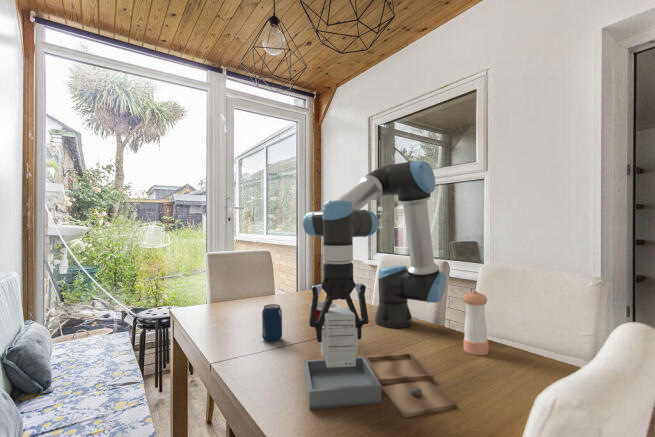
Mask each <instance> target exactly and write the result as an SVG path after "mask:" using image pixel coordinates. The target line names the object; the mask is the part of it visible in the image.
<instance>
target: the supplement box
mask: <svg viewBox="0 0 655 437" xmlns="http://www.w3.org/2000/svg"><path fill="white" fill-rule="evenodd" d="M324 329H325V356H324V359H325V360H326V367H351V366H356V357H357V356H356V355H357V354H355V314H354V313H353V312H351V311H350V309H349V307H348V306H344V307H343V306H342V307H341V306H340V307H336V308H329V310H328V313H325V321H324Z"/></svg>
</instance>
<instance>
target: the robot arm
mask: <svg viewBox="0 0 655 437" xmlns="http://www.w3.org/2000/svg"><path fill="white" fill-rule="evenodd" d="M435 189H436V177H435V173H434V170H433V168H432V166H431V165H430V164H429V163H428V162H427V161H425V160H412V161H405V162H399V163H393V164H392V163H390V164H386V165H383V166H380V167H378V168H376V169H374V170H373V171H371V172H370V173H367V174H366V175H365V176H362V177H361V179H360V181H359V183H358V184H357V185H355V186H353V187H352V188H351V189H349V190H348V191H347V192H344V194H342V195H341V196H340V197H337V198H336V199H335V200H327V201H325V202H324V203H323V205H322V206H323V208H322V209H320V210H314V211H310V212H307V213H306V214H305V215H304V217H303V219H302V226H303V229H304V232H305V233H306V235H308V236H310V237H311V236H313V237H322V238H323V241H322V242H323V243H322V245H323V247H322V249H323V251H322V252H323V253H322V254H323V261H324V263H323V266H322V268H323V269H322V270H323V272H322V274H323V275H322V276H323V278H322V282H321V284H317V285H315V284H313V285H311V287H310V288H311V294H312V298H311V303H312V304H311V303H310V304H311V307H310V314H309V319H308V324H309V327H311V328H314V329H315V328H316V330H317V336H316V340H317V343H320V354H321V357H323V358H324V357H325V329H324V326H323V324H324V321H325V313H328V310H329V308H330V305H331V303H333V302H334V301H337V300H344V301H345V302H346V305H347V307H349V309H350V311H351V312H353V313H354V314H355V354H356V355H358V353H359V349H358V347H359V346H358V343H359V341H358V340H361V339H362V328H363V326H364V325H369V322H370V321H369V316H368V315H369V314H368V309H367V303H366V301H367V300H366V296H365V294H366V288H367V286H366V285H365V284H364V283H356V282H355V280H354V263H353V262H352V261H353V260H354V247H353V246H354V240H353V239H354V238H366V237H369V236H370V237H371V236H372V235H374V234H375V233H376V231H377V230H378V227H379V219H378V217H377V215H376V214H375V213H374V212H373V211H372V210H371V211H370V210H367V209H363V208H364V207H365V206H366V205H368V204H369V203H370V202H371V201H375V200H378V199H379V198H380V197H386V196H397V198H398V199H397V200H398V202H399V203H401V204H402V206H403V213H404V219H405V220H404V221H405V222H404V223H405V228H406V236H407V243H408V252H409V258H410V260H409V261H410V265H409V266H407V265H391V266H384V267H381V268H380V269H379V270H378V278H377V280H378V305H377V309H376V312H375V315H374V322H375V324H377V326H378V325H379V326H381V327H385V328H390V329H391V328H393V329H394V328H395V329H401V328H402V329H403V328H407V327H410V326H412V325H413V317H412V313H411V309H410V307H409V303H408V302H409V301H408V300H410V301H418V302H423V303H425V302H426V303H428V304H429V303H435V304H437V303H439V302H440V301H441V300H442V299H443V297H444V295H445V291H446V287H447V286H446V285H447V276H446V274H445V273H444V272H442V271H440V266H439V265H438V264H437V263H436V262H435V260H434V258H435V257H434V251H433V250H434V249H433V241H432V234H431V225H430V223H431V222H430V216H429V206H428V201H429V200H430V199H431V197H432V196H431V194H432V193H433V192H434V191H435ZM354 289H355V291H356V292H357V296H358V297H357V298H358V305H359V312H360V316H359V314H358V312H357V309H356V307H355V304H354V302H353V299H352V297H351V294H352V292H353V291H354ZM321 290H323V291H324V292H325V294H326V296H325V299H324V301H323V302H324V305H323V307H322V310H321V313H320V315H319V318H318V320H317V321H315V319H316V312H317V304H318V302H319V295H320V294H321V293H322V292H321ZM360 317H361V318H360ZM316 330H315V331H316Z"/></svg>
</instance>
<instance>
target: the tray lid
mask: <svg viewBox="0 0 655 437" xmlns="http://www.w3.org/2000/svg"><path fill="white" fill-rule="evenodd" d="M382 394H383V395H384V396H385V397H386V398H387V399H388V400H389V402H390V403H391V404H392V405H393V407H395V409H396V410H397V411H398V412H399V413H400V414H401V416H403V418H404V419H405V418H409V417H410V418H411V417H414V416H420V415H425V414H429V413H430V414H431V413H435V412H442V411H446V410H451V409H455V408H457V407H458V403H456V402H455V401H454V400H453V399H451V398H450V396H448V395H446V394H445V393H444V392H443V391H442V390H440V389H439V388H438V387H437V386H435V384H434V383H433V382H429V381H428V380H419V381H413V382H407V383H401V384H394V385H388V386H382Z"/></svg>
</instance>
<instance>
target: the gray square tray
mask: <svg viewBox="0 0 655 437" xmlns="http://www.w3.org/2000/svg"><path fill="white" fill-rule="evenodd" d="M304 381H305V387H306V393H307V394H306V396H307V402H308V403H307V404H308V408H309V410H310V411H311V410H321V409H322V410H323V409H334V408H335V409H336V408H346V407H356V406H358V407H359V406H366V405H378V404H379V405H380V404H382V403H383V402H382V401H383V399H382V398H383V397H382V396H383V395H382V394H383V392H382V386H381V384H380V382H379V381H378V379H377V377H376V376H375V374H374V373H373V371H372V369H371V368H370V366H369V364H368V363H367V361H366V359H365V358H364V356H356V366H351V367H326V360H325V358H324V359H310V360H309V359H308V360H304Z"/></svg>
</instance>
